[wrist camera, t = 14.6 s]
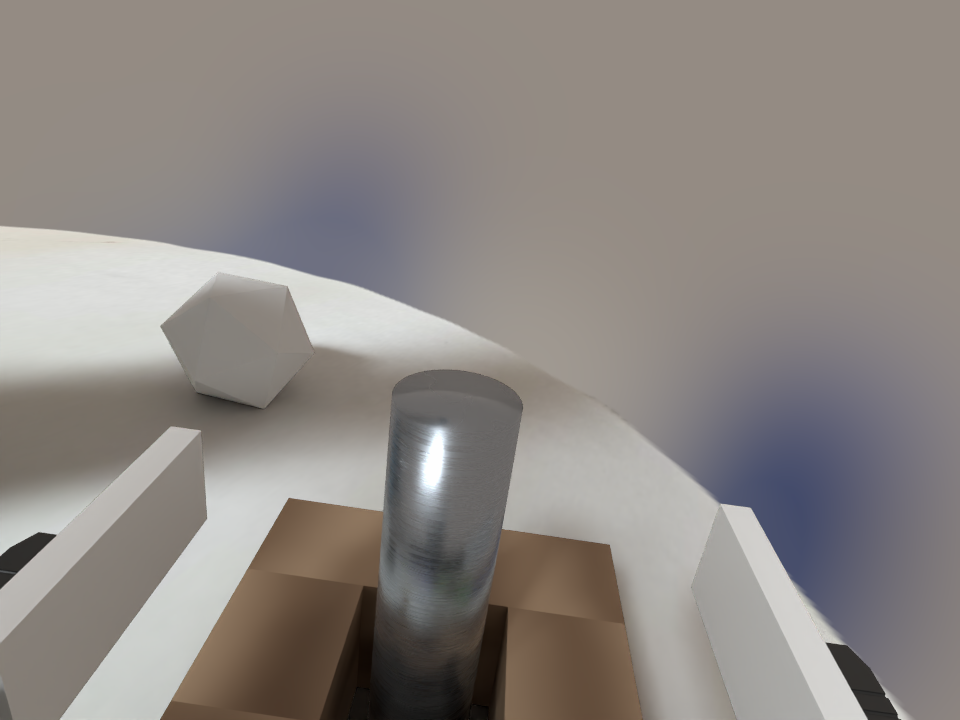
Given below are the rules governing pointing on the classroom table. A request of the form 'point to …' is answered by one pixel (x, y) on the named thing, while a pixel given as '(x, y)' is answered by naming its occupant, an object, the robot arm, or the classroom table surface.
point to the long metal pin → (439, 540)
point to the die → (239, 339)
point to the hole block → (351, 620)
